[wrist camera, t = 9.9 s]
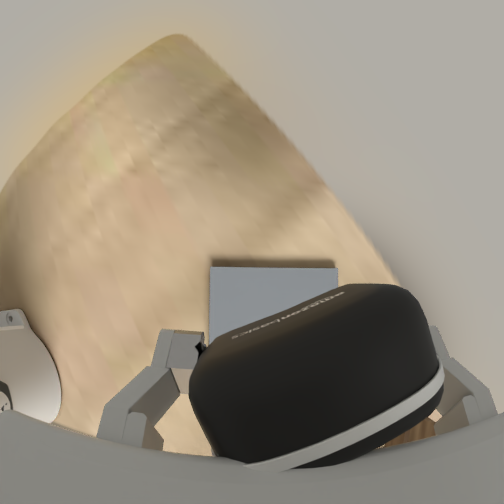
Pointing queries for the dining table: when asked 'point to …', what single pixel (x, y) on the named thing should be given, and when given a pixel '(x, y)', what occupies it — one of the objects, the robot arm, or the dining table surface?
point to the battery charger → (319, 380)
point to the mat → (261, 293)
